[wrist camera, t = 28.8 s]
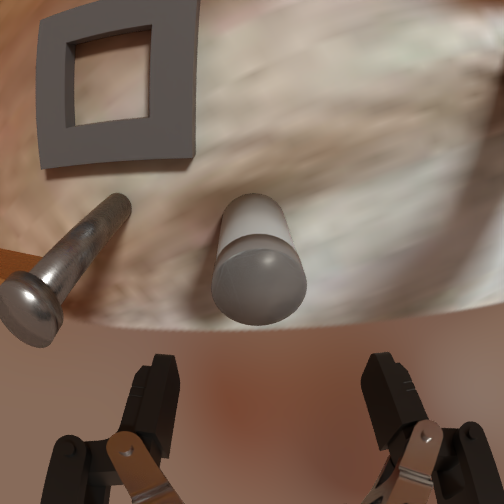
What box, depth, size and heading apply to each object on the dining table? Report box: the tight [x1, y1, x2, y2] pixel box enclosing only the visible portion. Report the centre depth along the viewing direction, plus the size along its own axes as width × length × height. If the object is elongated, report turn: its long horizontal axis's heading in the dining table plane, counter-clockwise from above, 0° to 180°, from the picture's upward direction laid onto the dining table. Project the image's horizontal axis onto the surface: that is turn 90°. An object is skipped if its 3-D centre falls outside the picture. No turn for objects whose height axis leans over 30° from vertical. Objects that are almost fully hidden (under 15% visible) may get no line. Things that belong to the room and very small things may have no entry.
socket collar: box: [36, 0, 200, 169], centre depth 17 cm, size 13×13×2 cm
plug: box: [211, 193, 307, 326], centre depth 20 cm, size 5×5×9 cm
